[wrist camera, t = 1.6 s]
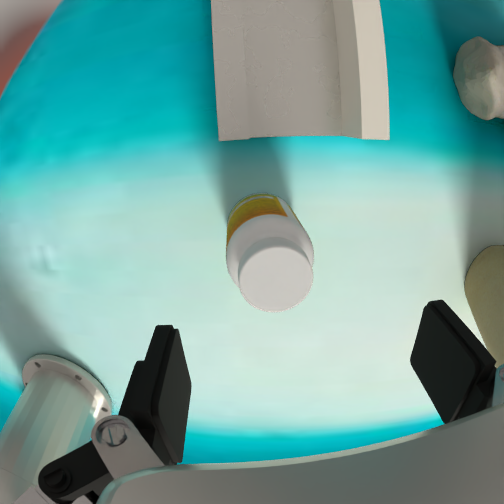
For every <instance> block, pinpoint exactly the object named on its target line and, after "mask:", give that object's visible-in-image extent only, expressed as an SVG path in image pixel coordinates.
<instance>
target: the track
mask: <svg viewBox="0 0 504 504" xmlns="http://www.w3.org/2000/svg"><path fill="white" fill-rule="evenodd" d="M211 12H212V33H213V53H214V71H215V88H216V104H217V119H218V134H219V141H227V140H241V139H250V138H254V137H276V136H347V137H353V138H360V139H380V140H389V98H388V78H387V64H386V52H385V42H384V33H383V24H382V17H381V9H380V3H379V0H211Z"/></svg>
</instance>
